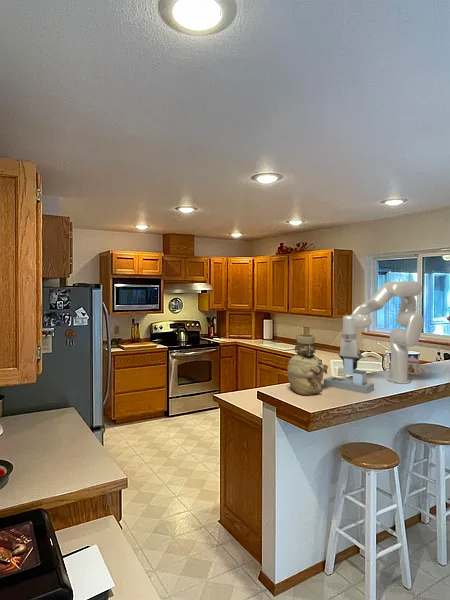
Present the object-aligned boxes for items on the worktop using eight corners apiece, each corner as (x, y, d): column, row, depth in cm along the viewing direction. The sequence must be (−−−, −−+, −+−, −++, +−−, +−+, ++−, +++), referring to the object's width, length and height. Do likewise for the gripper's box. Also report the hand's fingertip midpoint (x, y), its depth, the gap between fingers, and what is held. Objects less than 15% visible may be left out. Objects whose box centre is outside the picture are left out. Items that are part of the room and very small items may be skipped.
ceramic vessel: (327, 398, 199) (329, 338, 198) (285, 394, 205) (286, 336, 203) (327, 388, 218) (328, 334, 217) (288, 385, 223) (289, 332, 222)
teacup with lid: (401, 373, 260) (401, 355, 260) (409, 371, 265) (409, 354, 265) (418, 376, 250) (419, 358, 250) (426, 375, 255) (427, 357, 255)
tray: (341, 379, 239) (342, 376, 239) (364, 384, 230) (364, 380, 230) (331, 384, 228) (331, 380, 228) (354, 388, 219) (354, 384, 219)
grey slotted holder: (331, 384, 226) (332, 375, 226) (373, 392, 211) (374, 383, 210) (323, 388, 219) (323, 378, 219) (366, 396, 203) (366, 386, 203)
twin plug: (356, 388, 214) (356, 369, 214) (365, 389, 211) (366, 371, 211) (352, 389, 211) (353, 371, 210) (361, 391, 207) (362, 372, 207)
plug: (347, 372, 233) (347, 355, 232) (356, 373, 229) (356, 356, 229) (344, 374, 229) (344, 356, 228) (352, 375, 225) (352, 357, 225)
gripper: (333, 336, 231) (333, 367, 232) (361, 338, 219) (362, 371, 220) (338, 335, 236) (339, 365, 237) (367, 337, 225) (367, 368, 226)
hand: (350, 367), depth 229 cm, fingers closed on plug, 5 cm apart
